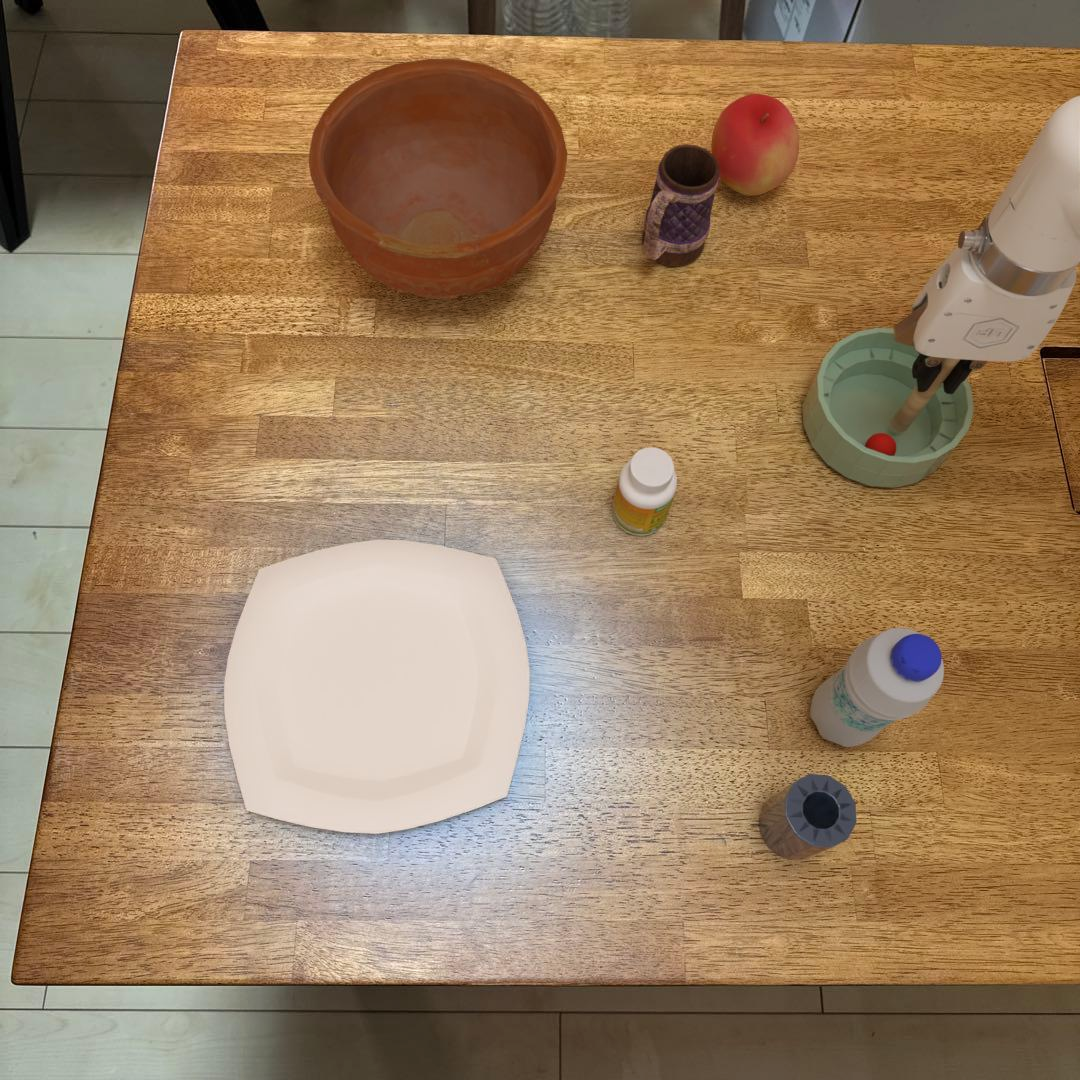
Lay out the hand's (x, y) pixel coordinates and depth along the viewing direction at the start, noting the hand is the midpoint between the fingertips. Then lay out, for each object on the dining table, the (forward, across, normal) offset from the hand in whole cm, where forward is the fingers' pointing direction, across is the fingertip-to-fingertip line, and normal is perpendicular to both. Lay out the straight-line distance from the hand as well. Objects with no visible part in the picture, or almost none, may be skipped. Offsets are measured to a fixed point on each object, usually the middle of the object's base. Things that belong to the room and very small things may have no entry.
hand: (933, 379), depth 94 cm
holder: (+11, -12, -40) cm, 43 cm away
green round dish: (+11, -2, +1) cm, 11 cm away
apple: (+11, -15, +32) cm, 37 cm away
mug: (+11, -24, +22) cm, 34 cm away
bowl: (+11, -48, +20) cm, 53 cm away
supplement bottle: (+11, -26, -10) cm, 30 cm away
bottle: (+11, -7, -30) cm, 32 cm away
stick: (+9, 0, 0) cm, 9 cm away
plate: (+11, -49, -29) cm, 58 cm away
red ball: (+9, -2, -3) cm, 9 cm away
